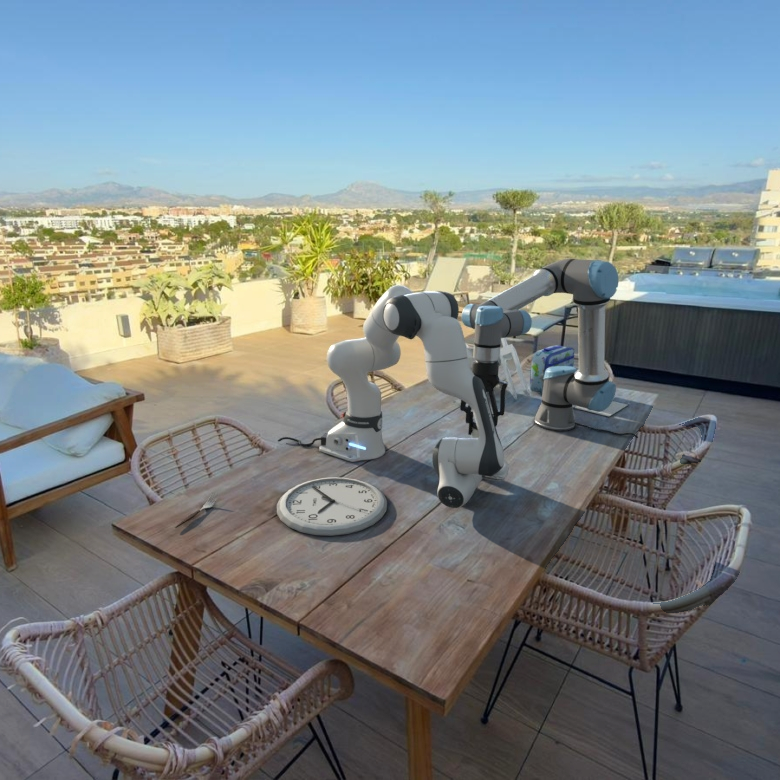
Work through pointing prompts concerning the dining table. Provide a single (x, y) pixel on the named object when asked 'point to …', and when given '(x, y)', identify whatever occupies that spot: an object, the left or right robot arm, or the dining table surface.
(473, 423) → the lid
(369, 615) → the dining table surface
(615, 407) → the invitation card
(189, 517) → the fork
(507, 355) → the white plastic object
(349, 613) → the dining table surface
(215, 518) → the dining table surface
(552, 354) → the lunch box
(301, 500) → the wall clock
